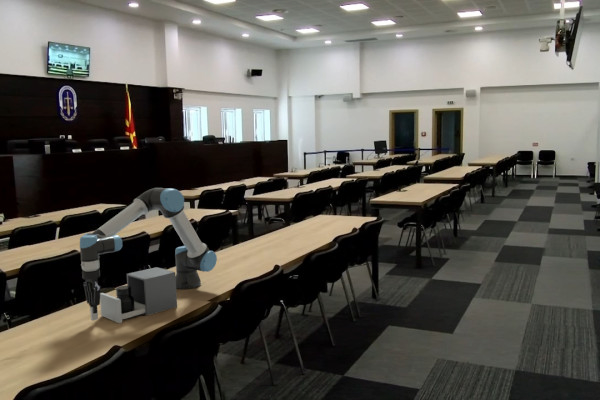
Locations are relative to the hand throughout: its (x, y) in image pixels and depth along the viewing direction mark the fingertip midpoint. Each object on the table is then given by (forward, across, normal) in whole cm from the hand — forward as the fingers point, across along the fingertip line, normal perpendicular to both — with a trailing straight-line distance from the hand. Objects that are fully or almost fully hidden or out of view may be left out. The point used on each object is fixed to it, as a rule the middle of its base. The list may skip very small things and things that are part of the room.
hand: (94, 319), depth 246 cm
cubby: (+2, 0, +30) cm, 31 cm away
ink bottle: (+1, 0, +15) cm, 15 cm away
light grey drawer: (+2, 0, +16) cm, 16 cm away
